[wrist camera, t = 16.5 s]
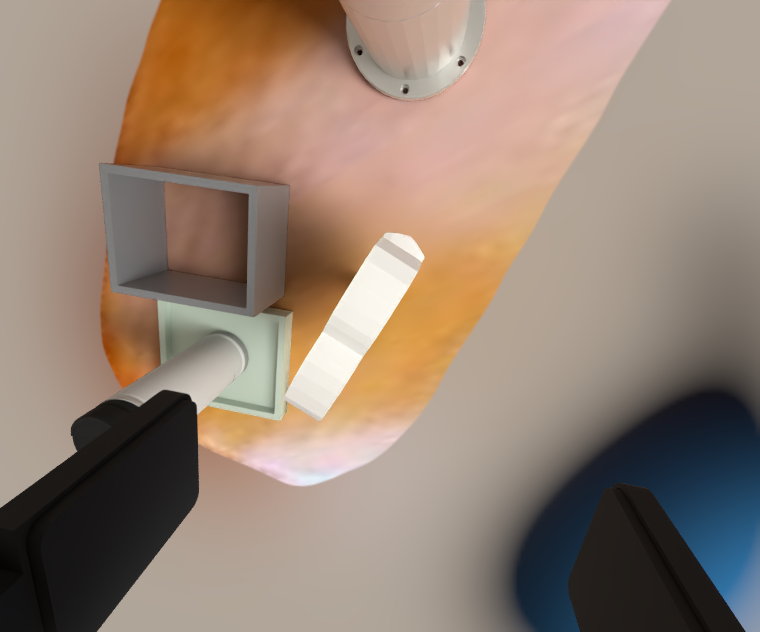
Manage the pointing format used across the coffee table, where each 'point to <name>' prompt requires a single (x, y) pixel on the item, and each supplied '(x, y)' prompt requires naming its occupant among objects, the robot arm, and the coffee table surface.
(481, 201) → the coffee table surface
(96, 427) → the travel mug
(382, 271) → the heart sculpture
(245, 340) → the tray
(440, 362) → the coffee table surface
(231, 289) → the deep bin
